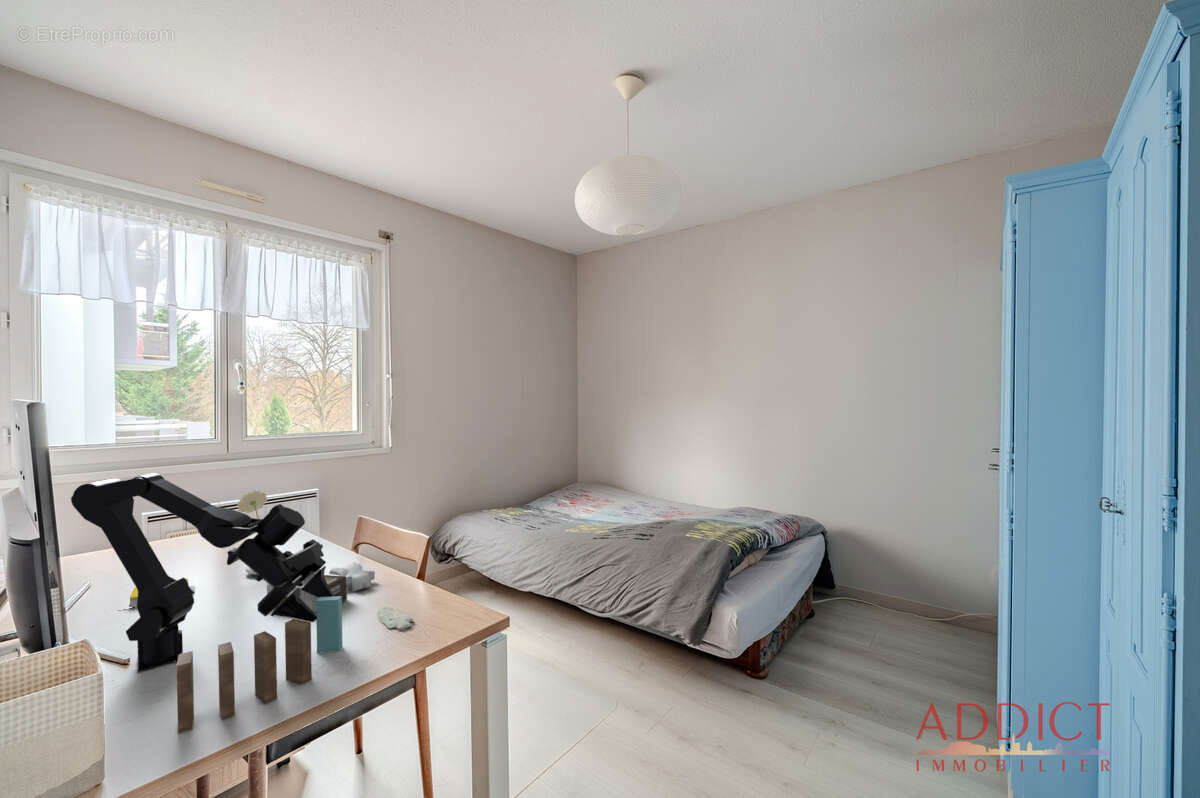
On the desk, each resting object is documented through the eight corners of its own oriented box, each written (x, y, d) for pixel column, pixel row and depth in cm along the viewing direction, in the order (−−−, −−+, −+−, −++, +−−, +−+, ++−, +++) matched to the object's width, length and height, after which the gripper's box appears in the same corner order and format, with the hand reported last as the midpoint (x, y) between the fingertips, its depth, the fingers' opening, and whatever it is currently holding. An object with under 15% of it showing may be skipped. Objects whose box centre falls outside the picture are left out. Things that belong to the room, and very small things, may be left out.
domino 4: (303, 684, 95) (302, 626, 95) (285, 680, 96) (284, 622, 96) (311, 679, 97) (310, 622, 96) (294, 675, 98) (293, 618, 98)
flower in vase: (288, 562, 162) (286, 484, 162) (291, 572, 153) (290, 490, 152) (237, 571, 154) (236, 489, 154) (238, 582, 145) (237, 495, 145)
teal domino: (339, 651, 107) (338, 599, 107) (317, 652, 106) (316, 600, 106) (342, 647, 109) (341, 596, 108) (320, 648, 108) (319, 597, 108)
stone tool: (419, 629, 118) (391, 607, 129) (419, 620, 118) (391, 598, 129) (395, 638, 114) (368, 615, 125) (394, 629, 114) (368, 606, 125)
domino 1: (178, 733, 81) (176, 665, 81) (180, 719, 85) (178, 654, 85) (192, 729, 82) (190, 662, 82) (193, 715, 86) (192, 651, 86)
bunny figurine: (346, 582, 135) (325, 562, 145) (345, 600, 135) (324, 580, 145) (381, 572, 142) (359, 554, 152) (380, 590, 142) (358, 571, 152)
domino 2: (221, 720, 85) (220, 655, 84) (219, 708, 88) (218, 645, 88) (234, 715, 86) (233, 651, 86) (232, 703, 89) (230, 641, 89)
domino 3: (265, 704, 89) (264, 642, 89) (255, 695, 92) (253, 635, 91) (277, 698, 90) (276, 637, 90) (266, 690, 93) (265, 631, 93)
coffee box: (293, 571, 136) (347, 575, 133) (294, 595, 136) (348, 599, 133) (265, 584, 127) (322, 588, 124) (266, 610, 127) (323, 614, 124)
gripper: (273, 546, 97) (335, 600, 98) (315, 521, 115) (367, 566, 117) (229, 589, 96) (293, 643, 98) (279, 557, 115) (332, 602, 116)
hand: (325, 610), depth 107 cm, fingers open, 9 cm apart
